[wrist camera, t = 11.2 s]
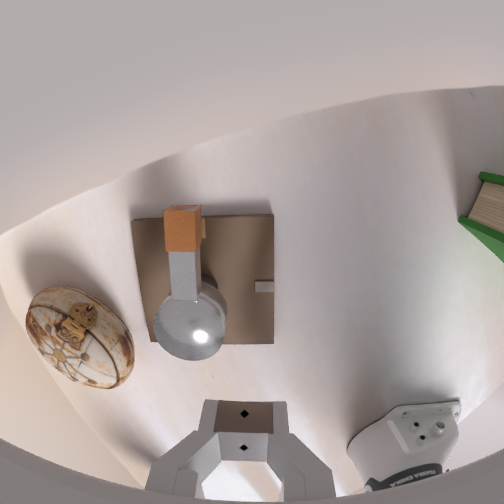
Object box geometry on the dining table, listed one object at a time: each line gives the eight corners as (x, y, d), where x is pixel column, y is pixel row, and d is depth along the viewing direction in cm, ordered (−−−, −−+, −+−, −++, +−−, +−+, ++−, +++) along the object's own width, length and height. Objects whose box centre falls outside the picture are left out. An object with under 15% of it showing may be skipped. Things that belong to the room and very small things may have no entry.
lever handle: (228, 337, 29) (224, 363, 26) (168, 334, 30) (157, 358, 26) (226, 202, 25) (220, 211, 21) (156, 202, 26) (139, 211, 22)
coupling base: (273, 214, 32) (276, 228, 26) (273, 338, 37) (275, 369, 31) (134, 219, 32) (112, 233, 27) (153, 336, 37) (139, 365, 31)
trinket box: (146, 371, 39) (129, 409, 32) (60, 357, 39) (36, 388, 32) (129, 283, 35) (101, 315, 28) (37, 278, 35) (3, 302, 28)
